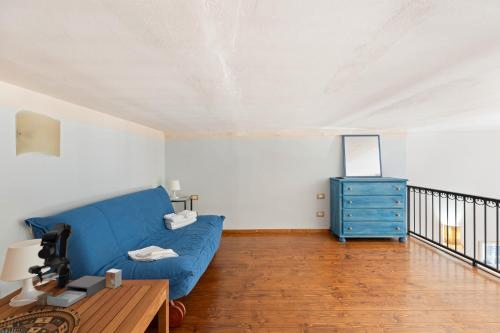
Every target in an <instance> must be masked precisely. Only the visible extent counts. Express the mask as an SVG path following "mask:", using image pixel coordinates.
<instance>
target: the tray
mask: <svg viewBox="0 0 500 333" xmlns="http://www.w3.org/2000/svg"><path fill="white" fill-rule="evenodd" d="M85 297H86V298H87V291H81V290H68V291H66V290H65V292H63V293H61V294H58V295H56V296H53V297H52V296H48V297H47V304H46V306H47V305H48V306H55V307H65V308H68V307H69V306H71V305H73V304H75V303H78V302H79V301H80V300H82V299H84V298H85Z"/></svg>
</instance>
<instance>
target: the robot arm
mask: <svg viewBox="0 0 500 333" xmlns="http://www.w3.org/2000/svg"><path fill="white" fill-rule="evenodd" d="M73 232H74V228H73V226H72V225H70V224H68V223H67V222H58V223H56V226H54V227H53V229H52V230H50V231H46V232H45V233H44V234H42V237H41V241H40V243H39V244H40V245H39V247H42V248H41V249H40V250H39V251H38V252H37V257H38V258H39V259H41V260H44V261H43V263H42V264H43V265H41V266H40V265H33V266H29V268H28V269H27V272H28V273H29V274H31V275H36V274H38V275H36V277H37V279H38V280H39V282H40V283H41V284H42V283H43V281H42V276H43V271H42V270H45V269H48V268H50V270H53V272H52V273H59V277H58V278H56V285H54V288H59V289H63V288H66V285H67V284H69V283H70V279H69V277H71V276H72V269H71V267H70V264H71V263H72V262H71V258H68V248H69V246H68V245H69V239H70V238H71V236H72V234H73ZM58 244H59V246H58ZM58 247H59V249H58ZM58 250H59V251H58Z"/></svg>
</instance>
